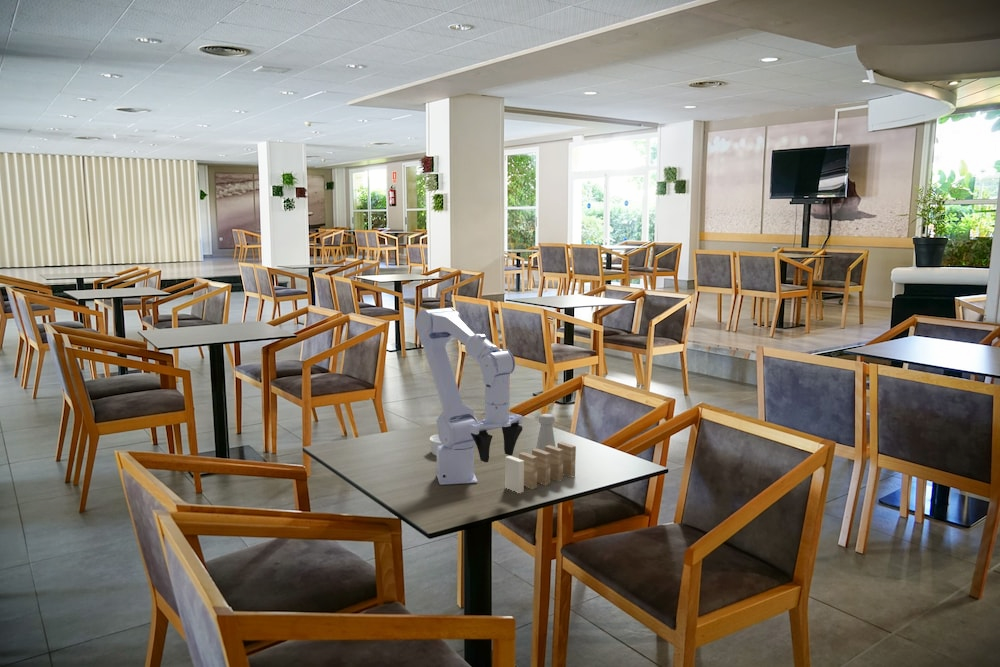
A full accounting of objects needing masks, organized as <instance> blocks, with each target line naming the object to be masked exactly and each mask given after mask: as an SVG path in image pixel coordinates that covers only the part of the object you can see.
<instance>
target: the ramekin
mask: <svg viewBox="0 0 1000 667" xmlns="http://www.w3.org/2000/svg"><path fill="white" fill-rule="evenodd" d="M429 441H430V442H429V443H430V452H431V454H432V455H433V456H436V457H437V446H442V445H443V444H442V443H441V441H440V439H439V436H438V433H437V434H433V435H431V436H430V437H429Z"/></svg>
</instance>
